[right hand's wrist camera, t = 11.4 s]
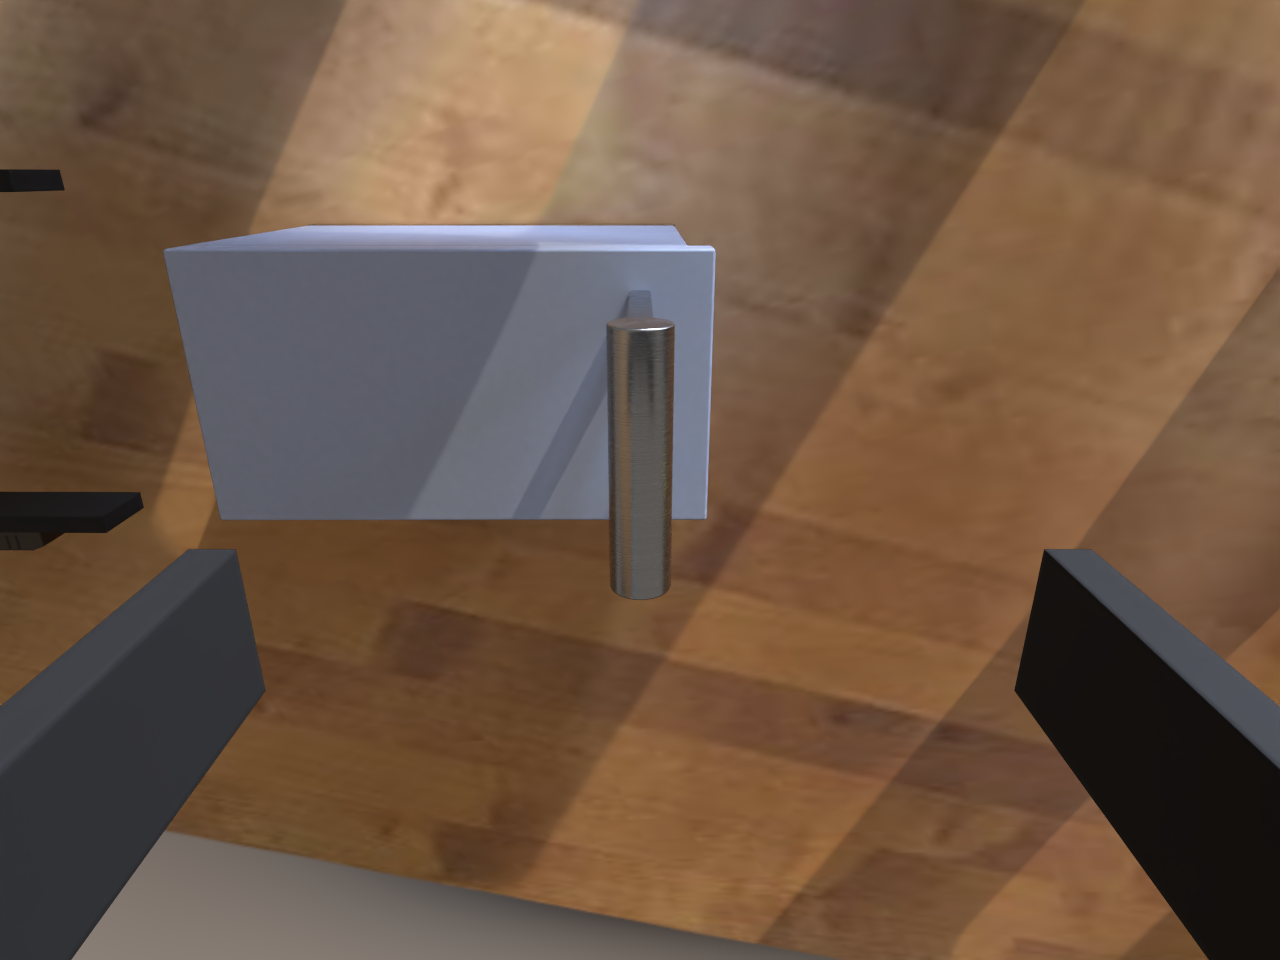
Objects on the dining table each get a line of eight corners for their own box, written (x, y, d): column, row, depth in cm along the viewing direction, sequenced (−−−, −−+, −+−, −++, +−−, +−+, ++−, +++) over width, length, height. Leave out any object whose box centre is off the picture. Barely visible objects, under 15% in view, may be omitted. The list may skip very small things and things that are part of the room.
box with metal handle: (712, 245, 26) (746, 279, 17) (704, 506, 29) (729, 636, 21) (182, 245, 26) (-30, 279, 17) (236, 507, 29) (79, 637, 21)
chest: (674, 223, 36) (688, 244, 26) (671, 418, 39) (682, 506, 29) (314, 224, 36) (183, 245, 26) (342, 418, 39) (237, 506, 29)
